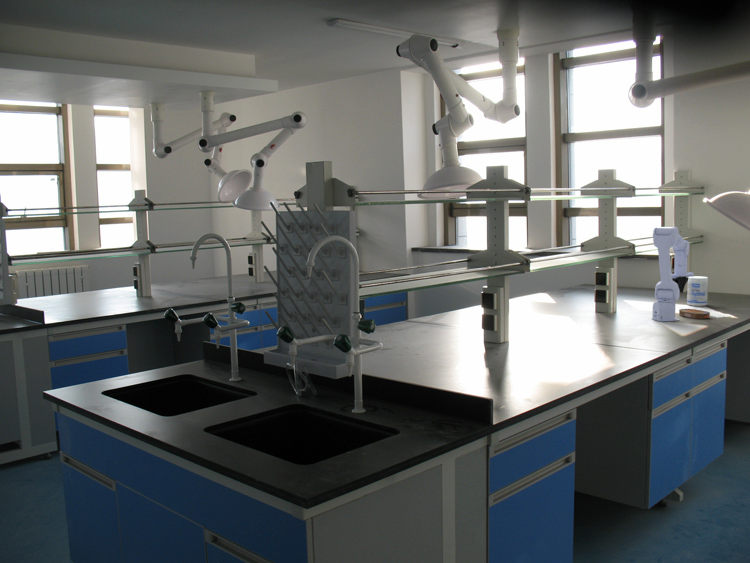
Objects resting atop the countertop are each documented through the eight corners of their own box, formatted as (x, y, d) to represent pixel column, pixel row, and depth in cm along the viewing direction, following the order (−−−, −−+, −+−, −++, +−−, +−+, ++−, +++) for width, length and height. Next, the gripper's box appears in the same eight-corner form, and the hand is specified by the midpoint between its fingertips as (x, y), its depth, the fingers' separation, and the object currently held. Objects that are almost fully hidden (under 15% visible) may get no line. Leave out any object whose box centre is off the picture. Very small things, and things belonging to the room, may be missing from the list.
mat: (716, 317, 316) (716, 317, 316) (697, 312, 331) (697, 312, 331) (730, 317, 317) (730, 316, 317) (711, 311, 331) (711, 311, 331)
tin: (714, 312, 315) (700, 313, 312) (713, 319, 316) (700, 319, 312) (688, 308, 329) (675, 308, 326) (687, 314, 329) (674, 315, 326)
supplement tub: (691, 306, 348) (692, 278, 346) (683, 303, 357) (684, 276, 355) (710, 306, 347) (711, 277, 345) (702, 303, 357) (703, 275, 355)
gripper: (675, 266, 322) (674, 294, 324) (698, 264, 327) (698, 292, 328) (664, 265, 329) (663, 292, 330) (687, 263, 333) (687, 290, 335)
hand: (680, 292), depth 330 cm, fingers closed
